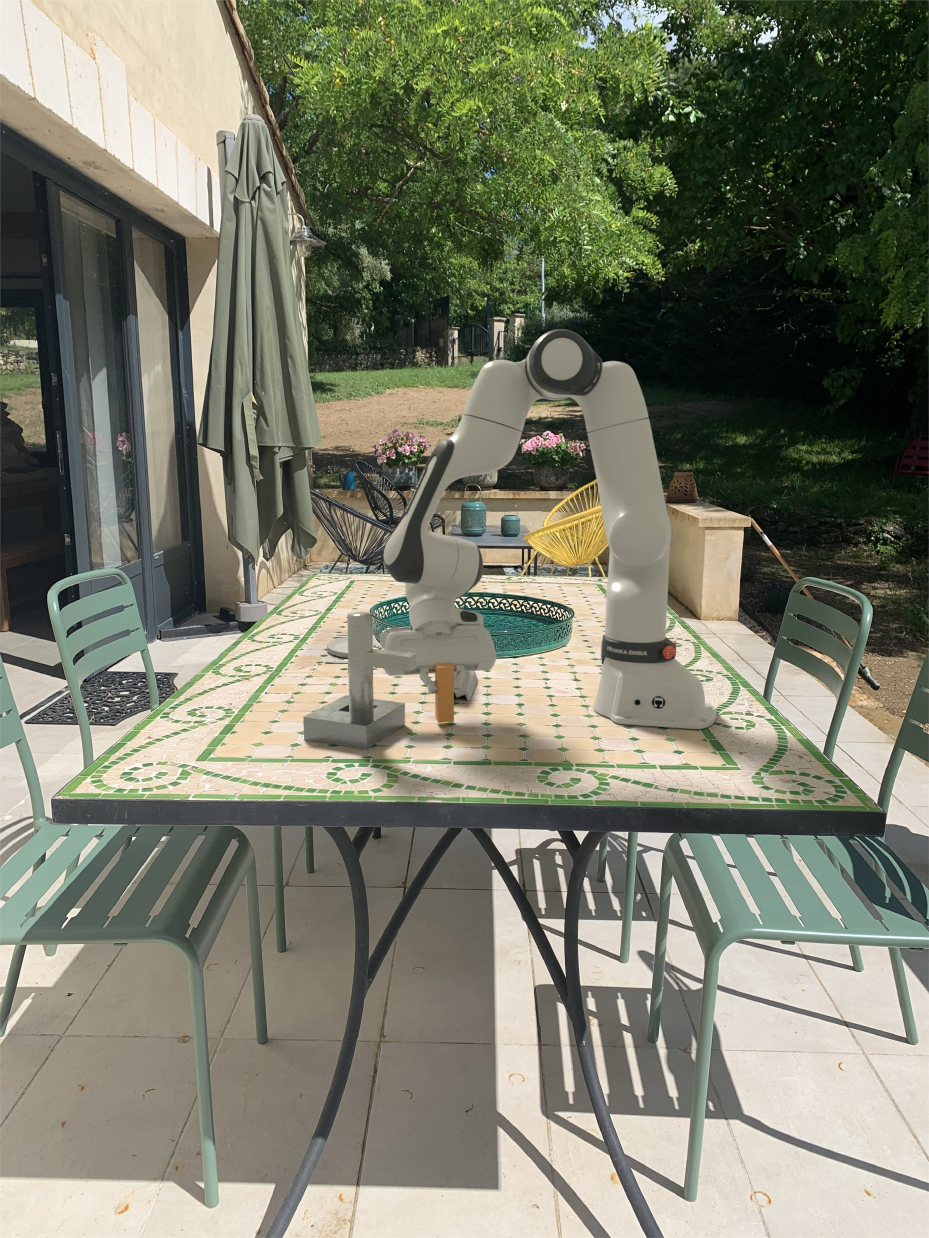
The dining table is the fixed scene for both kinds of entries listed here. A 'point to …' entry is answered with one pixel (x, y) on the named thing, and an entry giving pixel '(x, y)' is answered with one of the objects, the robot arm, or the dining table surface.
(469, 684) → the grey rounded block
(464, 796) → the dining table surface
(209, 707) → the dining table surface
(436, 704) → the orange rectangular block
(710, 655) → the dining table surface
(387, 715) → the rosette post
